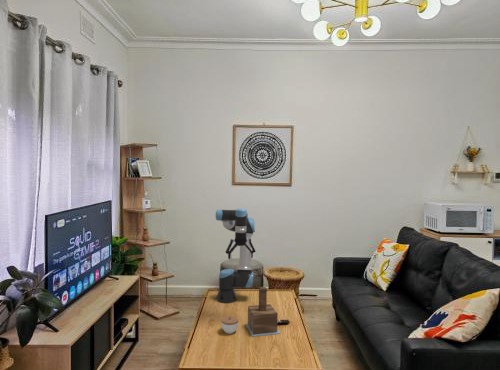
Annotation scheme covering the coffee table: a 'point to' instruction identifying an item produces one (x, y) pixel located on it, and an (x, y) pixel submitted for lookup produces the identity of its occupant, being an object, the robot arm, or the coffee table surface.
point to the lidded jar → (229, 324)
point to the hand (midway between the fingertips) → (240, 263)
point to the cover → (262, 315)
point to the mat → (260, 334)
